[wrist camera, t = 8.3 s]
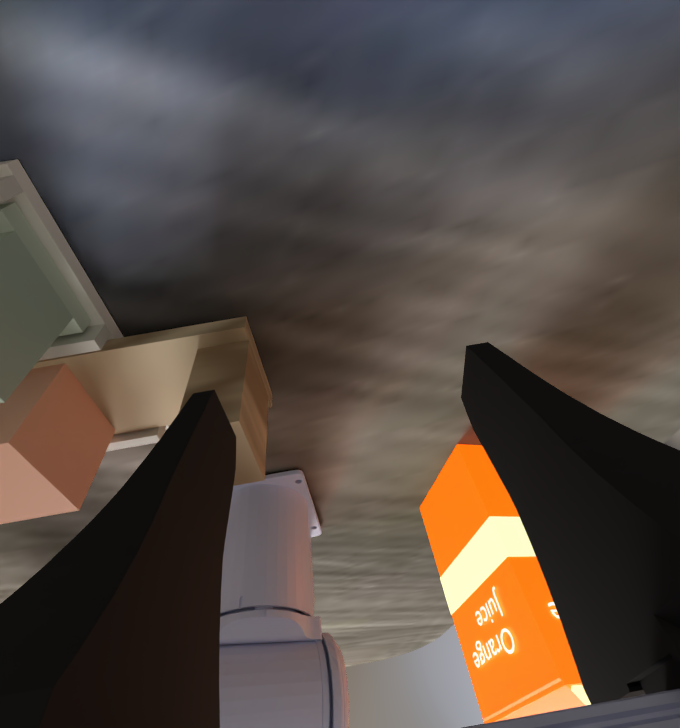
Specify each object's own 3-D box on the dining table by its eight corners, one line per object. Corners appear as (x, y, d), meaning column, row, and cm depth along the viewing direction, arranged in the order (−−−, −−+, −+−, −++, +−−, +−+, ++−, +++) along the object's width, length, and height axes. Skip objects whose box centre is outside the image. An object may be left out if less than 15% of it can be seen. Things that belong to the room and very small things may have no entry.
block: (115, 430, 22) (79, 510, 18) (28, 445, 22) (-26, 528, 18) (65, 363, 19) (8, 442, 15) (-37, 380, 19) (-120, 464, 15)
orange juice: (417, 507, 35) (526, 876, 19) (455, 443, 29) (649, 877, 14) (494, 509, 36) (652, 847, 21) (543, 448, 31) (804, 839, 16)
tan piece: (246, 316, 20) (232, 406, 14) (272, 395, 23) (269, 490, 18) (-28, 363, 19) (-138, 470, 14) (40, 435, 23) (-28, 542, 18)
